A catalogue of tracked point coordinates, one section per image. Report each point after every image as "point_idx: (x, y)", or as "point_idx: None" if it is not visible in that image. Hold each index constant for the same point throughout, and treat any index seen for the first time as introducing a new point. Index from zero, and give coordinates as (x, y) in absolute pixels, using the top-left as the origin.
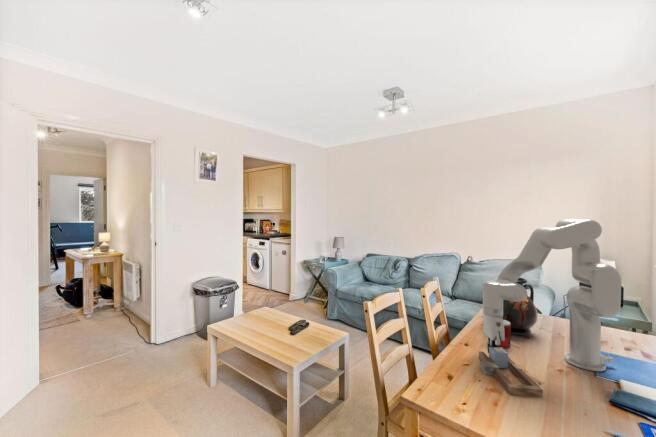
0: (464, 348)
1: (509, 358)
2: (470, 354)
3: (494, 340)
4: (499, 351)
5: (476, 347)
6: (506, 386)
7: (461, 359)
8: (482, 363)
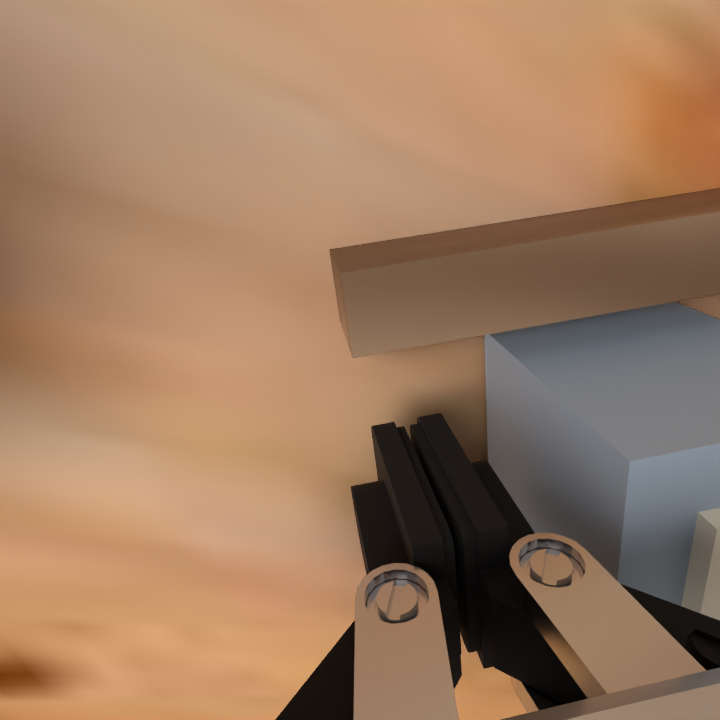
0: (169, 690)
1: (581, 247)
2: (333, 641)
3: None
4: None
5: (45, 570)
6: None
7: (485, 709)
8: None
